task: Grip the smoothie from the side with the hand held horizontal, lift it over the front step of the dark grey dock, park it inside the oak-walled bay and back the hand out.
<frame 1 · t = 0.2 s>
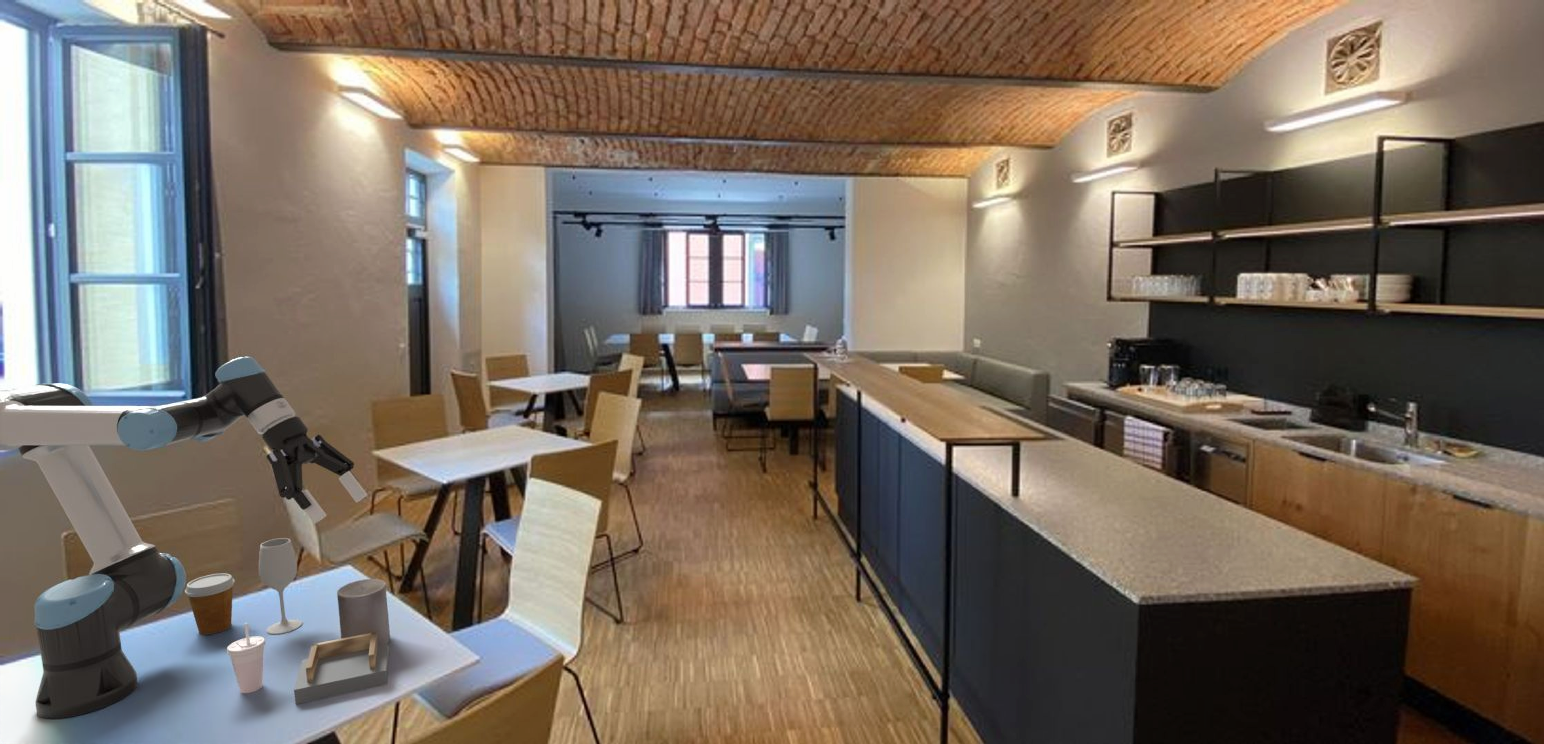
hand: (342, 509, 157), 35 cm above the table, tool tilted 35°, fingers open, 13 cm apart
smoothie: (251, 689, 154), on the table
dock: (345, 678, 157), on the table
disposable coffee cup: (215, 629, 181), on the table
wineglass: (284, 627, 181), on the table
bay walls: (343, 663, 157), resting on dock
pillar candle: (367, 645, 172), on the table
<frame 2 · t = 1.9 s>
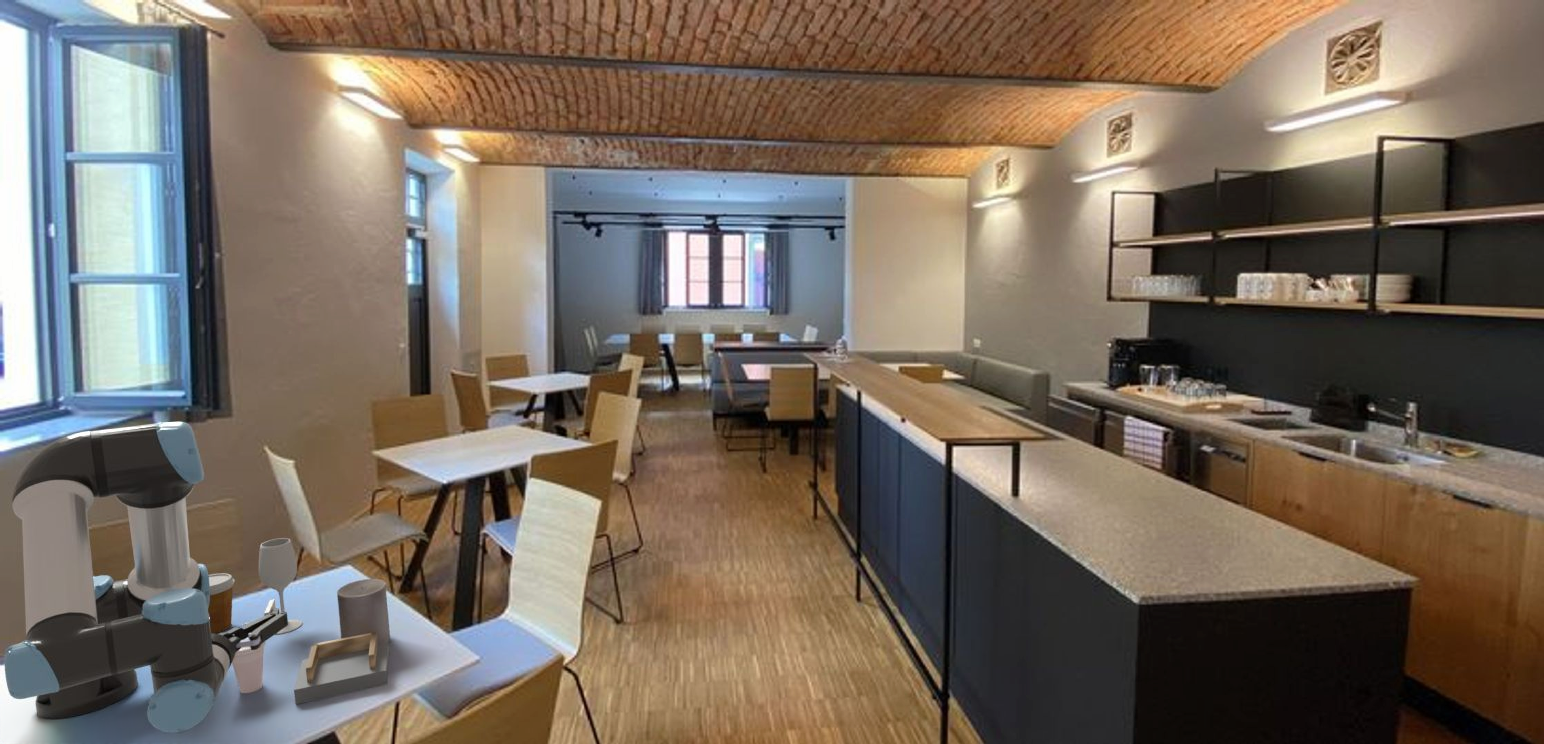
hand: (230, 613, 143), 20 cm above the table, tool horizontal, fingers open, 13 cm apart
nothing on the table moved.
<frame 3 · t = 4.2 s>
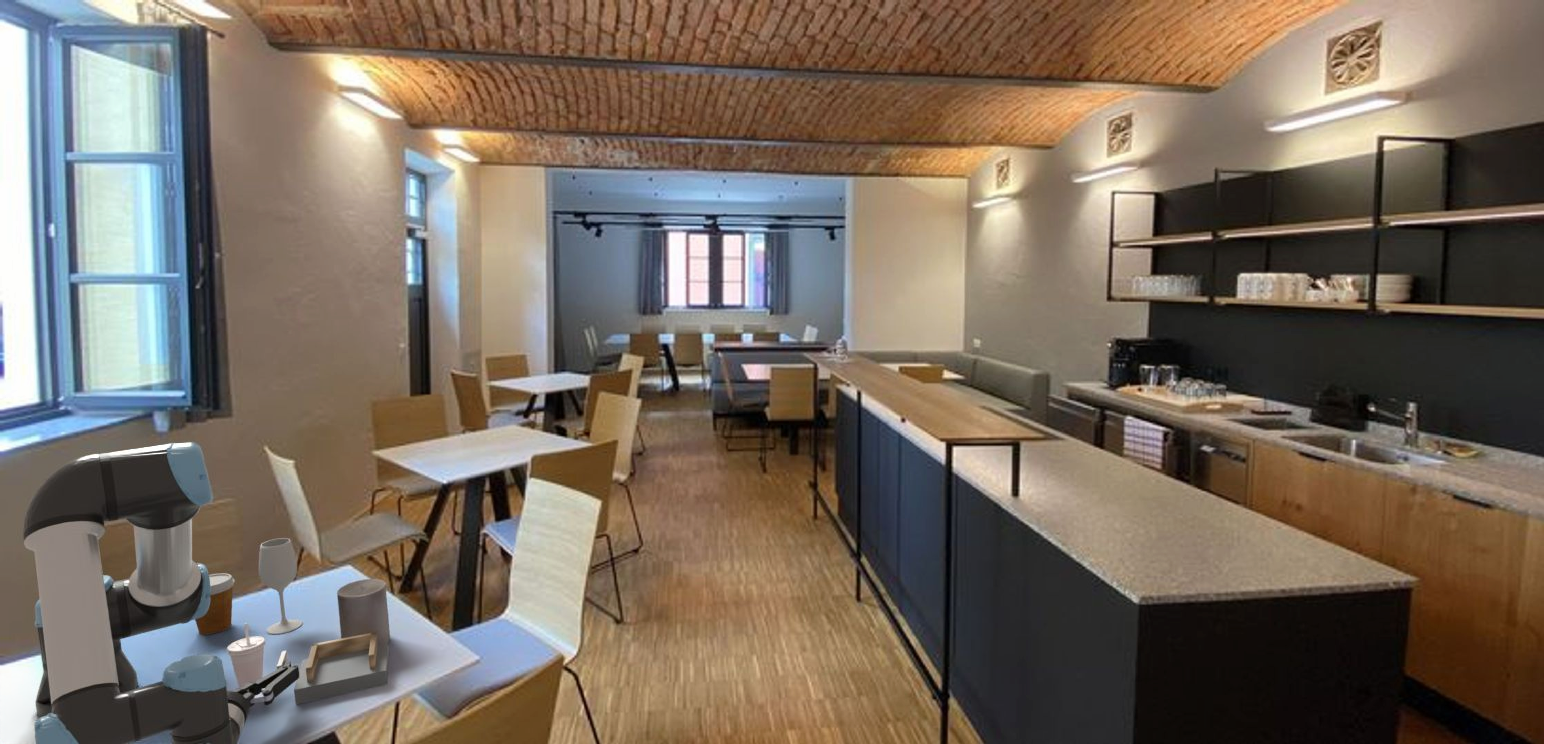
hand: (244, 664, 149), 7 cm above the table, tool horizontal, fingers open, 13 cm apart
nothing on the table moved.
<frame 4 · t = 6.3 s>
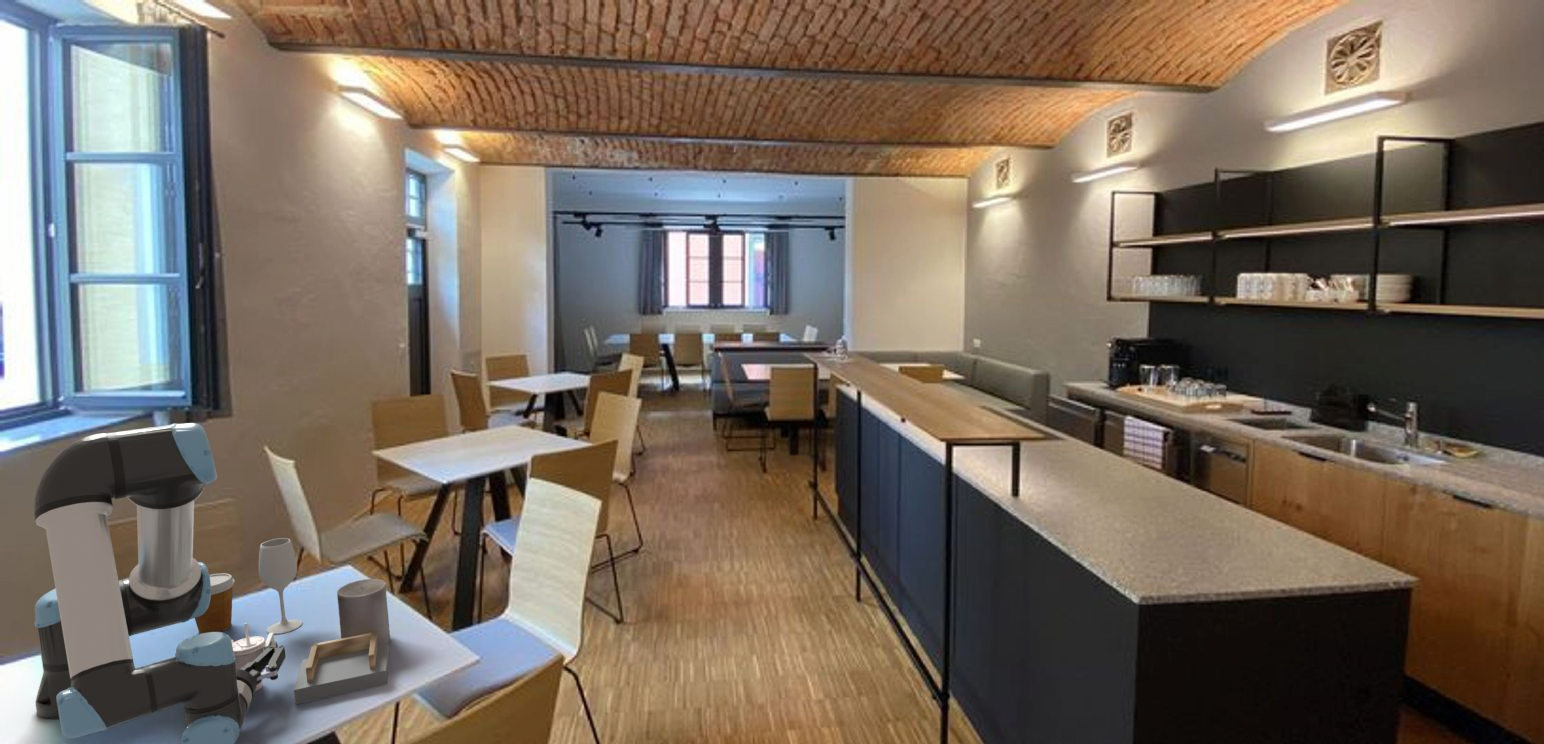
hand: (252, 642, 158), 8 cm above the table, tool horizontal, fingers closed on smoothie, 6 cm apart
smoothie: (251, 689, 154), on the table, touching gripper
everything else where it was.
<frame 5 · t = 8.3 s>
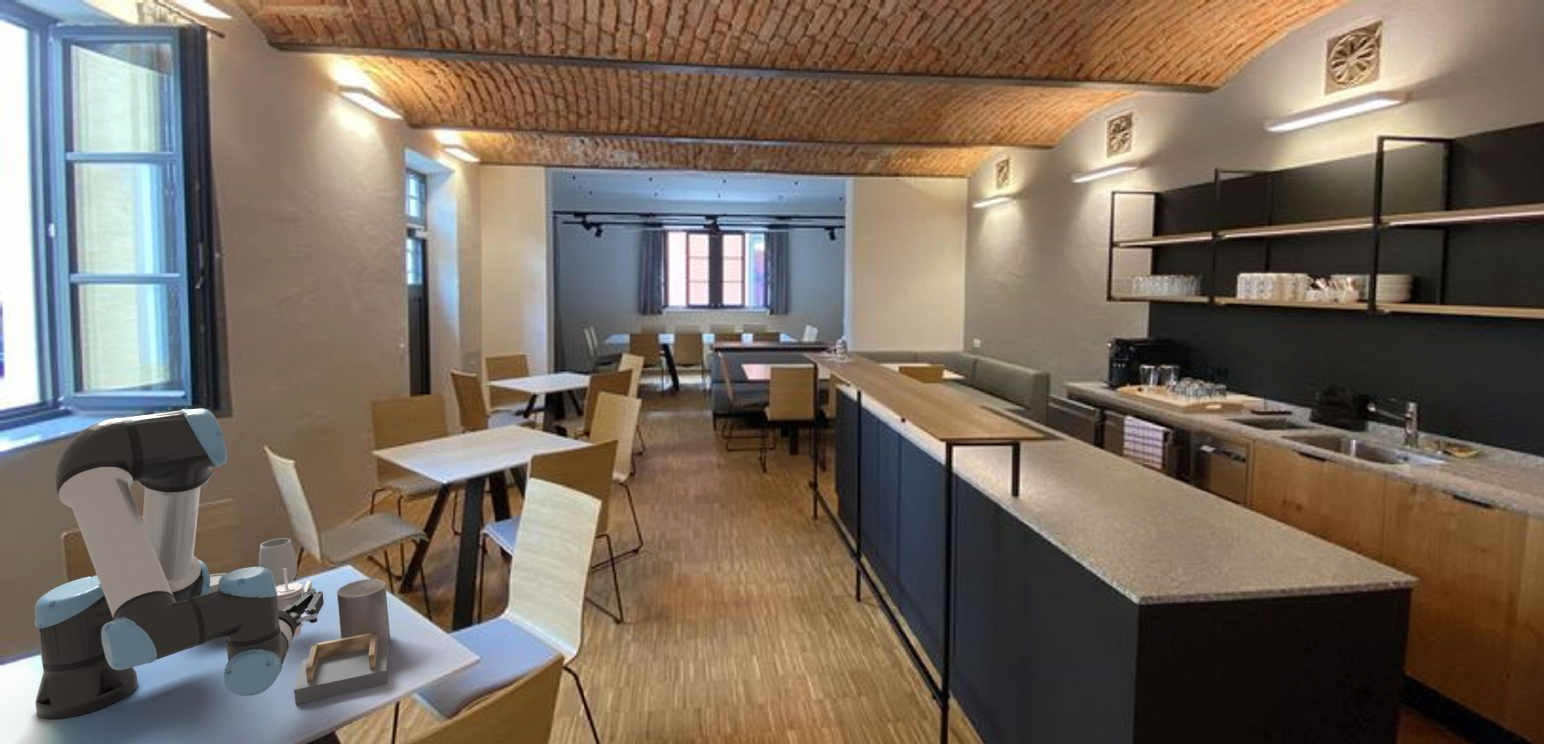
hand: (290, 589, 157), 19 cm above the table, tool horizontal, fingers closed on smoothie, 6 cm apart
smoothie: (289, 635, 153), point 11 cm above the table, touching gripper
everything else where it was.
when the fingers open (12 cm above the table, at t = 10.3 s): smoothie drops 1 cm, resting on dock.
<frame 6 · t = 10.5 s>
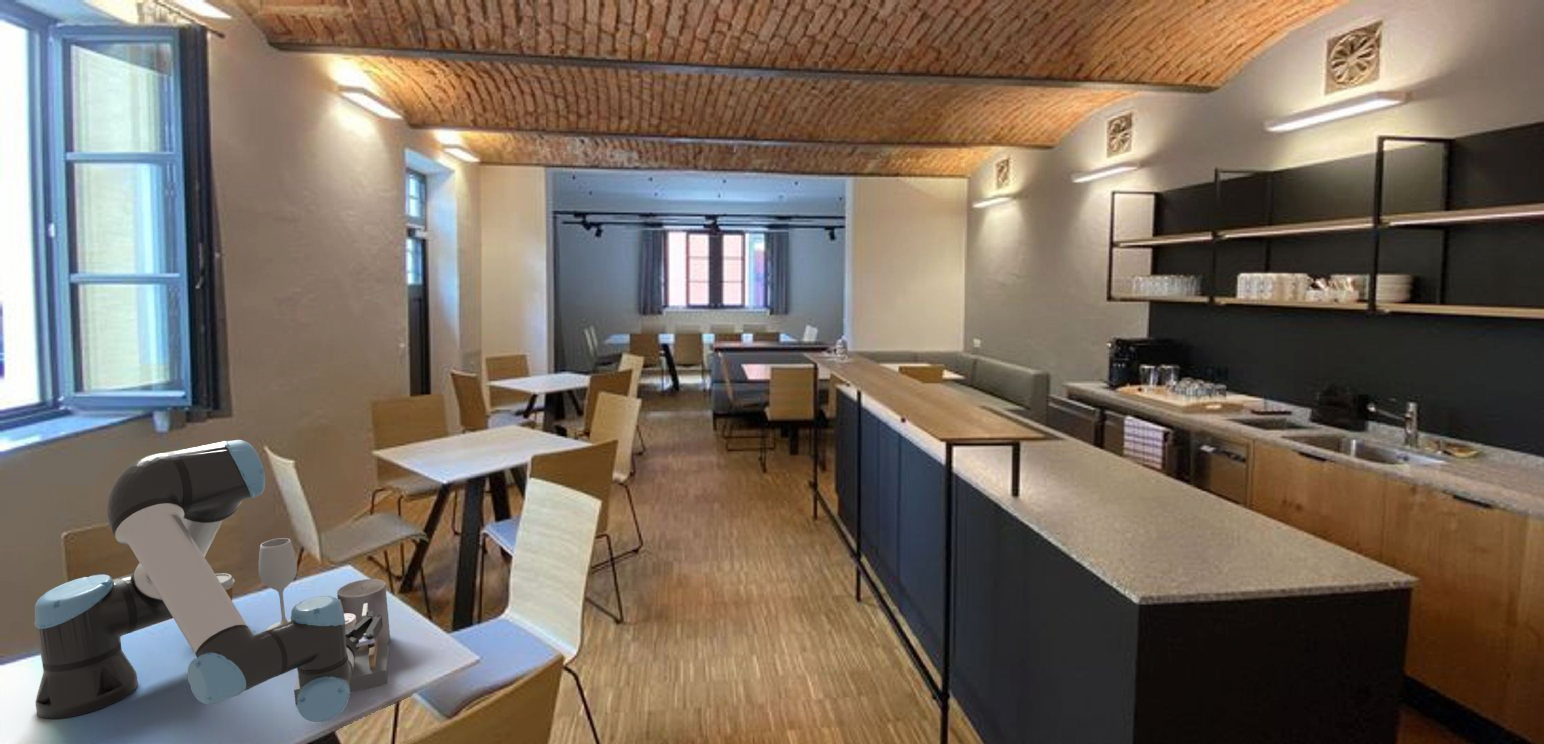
hand: (341, 613, 160), 12 cm above the table, tool horizontal, fingers open, 8 cm apart
smoothie: (343, 664, 157), point 3 cm above the table, touching dock
everything else where it was.
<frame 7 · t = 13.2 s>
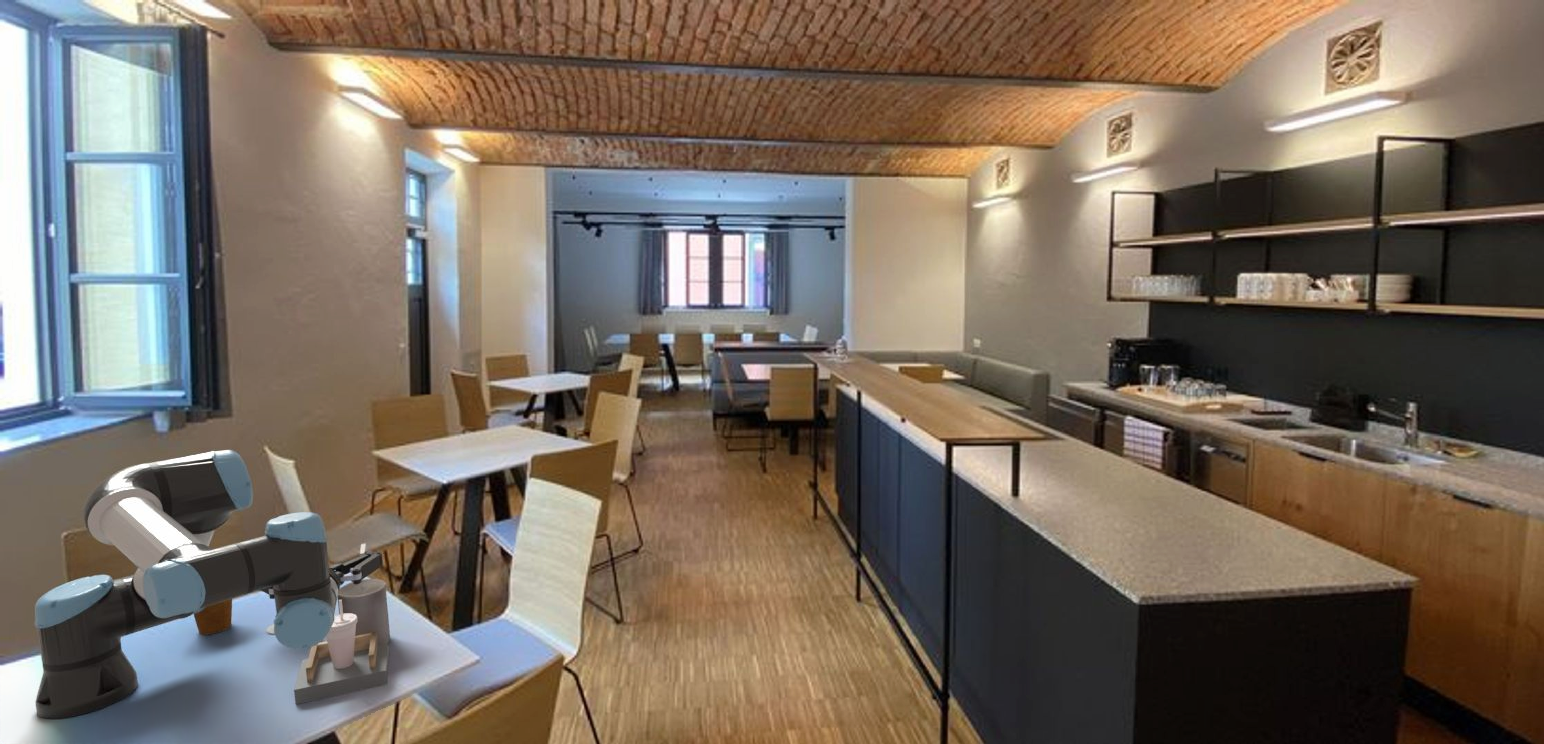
hand: (323, 556, 145), 30 cm above the table, tool horizontal, fingers open, 13 cm apart
nothing on the table moved.
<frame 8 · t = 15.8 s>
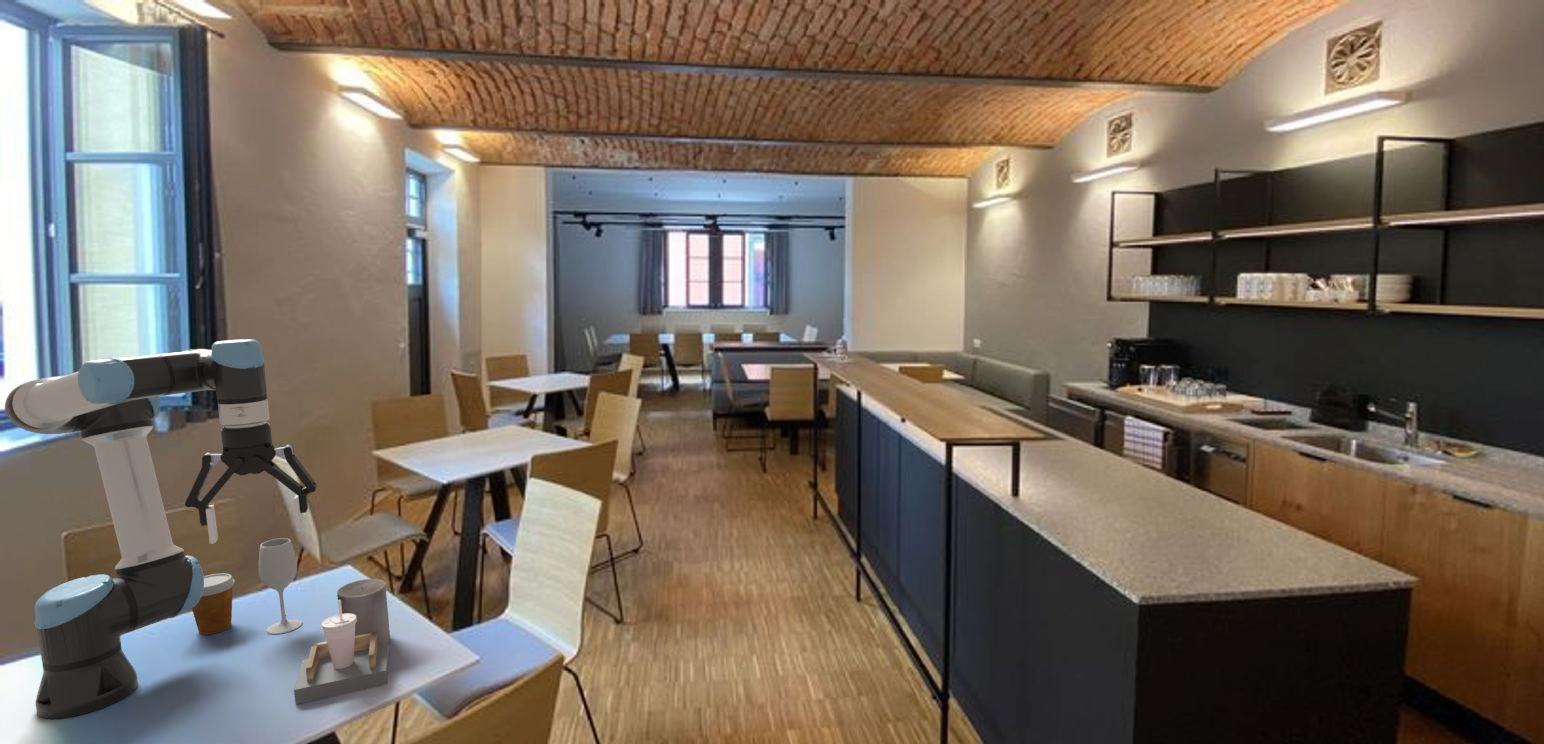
hand: (258, 535, 142), 35 cm above the table, tool pointing down, fingers open, 13 cm apart
nothing on the table moved.
at the end: smoothie inside the target area (0.1 cm from its centre), point 2.8 cm above the table; smoothie tilted 1°; the gripper is holding nothing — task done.
